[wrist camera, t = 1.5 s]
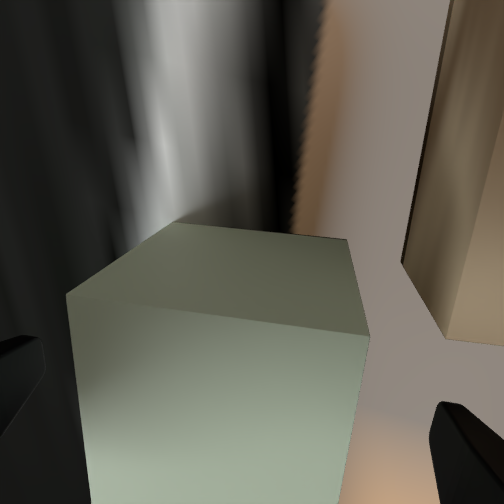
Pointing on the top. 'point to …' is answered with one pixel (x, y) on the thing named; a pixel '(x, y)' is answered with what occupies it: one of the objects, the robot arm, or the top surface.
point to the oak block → (463, 181)
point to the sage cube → (219, 368)
